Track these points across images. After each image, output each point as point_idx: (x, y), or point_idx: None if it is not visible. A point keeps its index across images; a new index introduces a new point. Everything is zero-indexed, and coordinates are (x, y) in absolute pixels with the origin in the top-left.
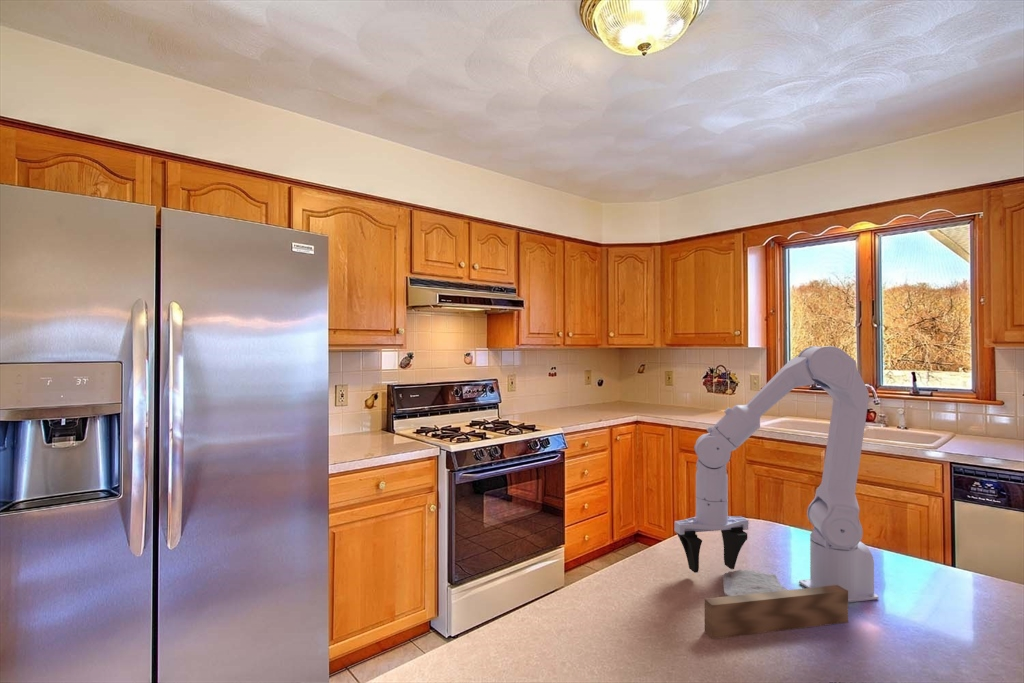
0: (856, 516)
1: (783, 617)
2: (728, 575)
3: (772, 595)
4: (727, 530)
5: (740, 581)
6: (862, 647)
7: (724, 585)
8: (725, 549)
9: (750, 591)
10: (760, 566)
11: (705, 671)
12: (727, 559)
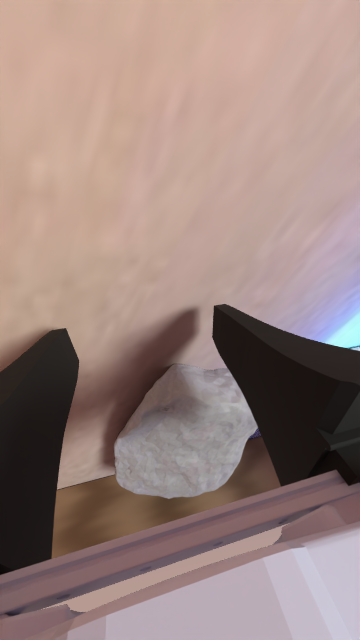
0: None
1: None
2: (160, 409)
3: None
4: (315, 451)
5: (168, 443)
6: None
7: (124, 436)
8: (244, 341)
9: (158, 479)
10: (344, 257)
11: None
12: (224, 333)
